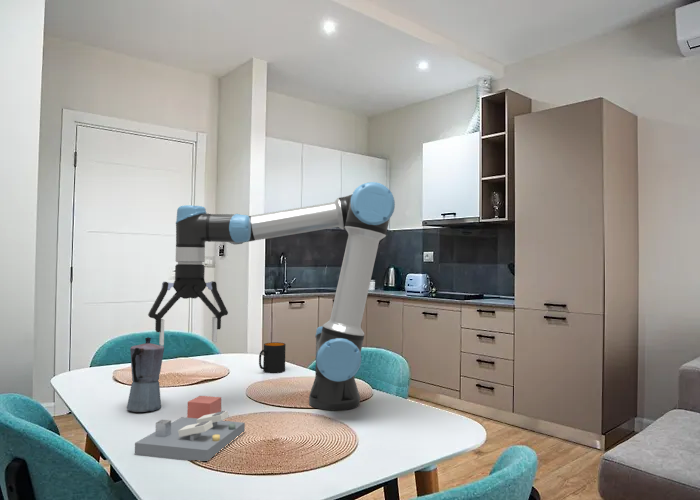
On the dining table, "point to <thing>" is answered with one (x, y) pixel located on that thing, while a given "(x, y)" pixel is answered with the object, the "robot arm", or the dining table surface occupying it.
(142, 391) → the moka pot
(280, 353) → the mug
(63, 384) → the dining table surface
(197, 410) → the cap
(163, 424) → the post
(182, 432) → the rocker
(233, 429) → the panel
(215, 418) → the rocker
